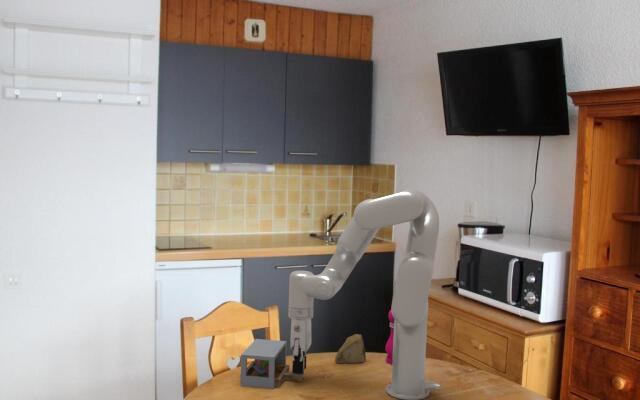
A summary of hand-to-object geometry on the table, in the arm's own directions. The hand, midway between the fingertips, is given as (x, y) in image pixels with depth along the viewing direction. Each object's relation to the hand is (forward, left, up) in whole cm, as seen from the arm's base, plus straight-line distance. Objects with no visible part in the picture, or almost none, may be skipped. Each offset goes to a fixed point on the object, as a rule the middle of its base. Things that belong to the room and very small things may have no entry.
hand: (299, 370), depth 206 cm
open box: (+11, 0, -3) cm, 11 cm away
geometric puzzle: (+11, 0, -4) cm, 12 cm away
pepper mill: (-28, -26, -4) cm, 38 cm away
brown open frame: (+8, 0, -3) cm, 8 cm away
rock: (-13, -23, -4) cm, 27 cm away
